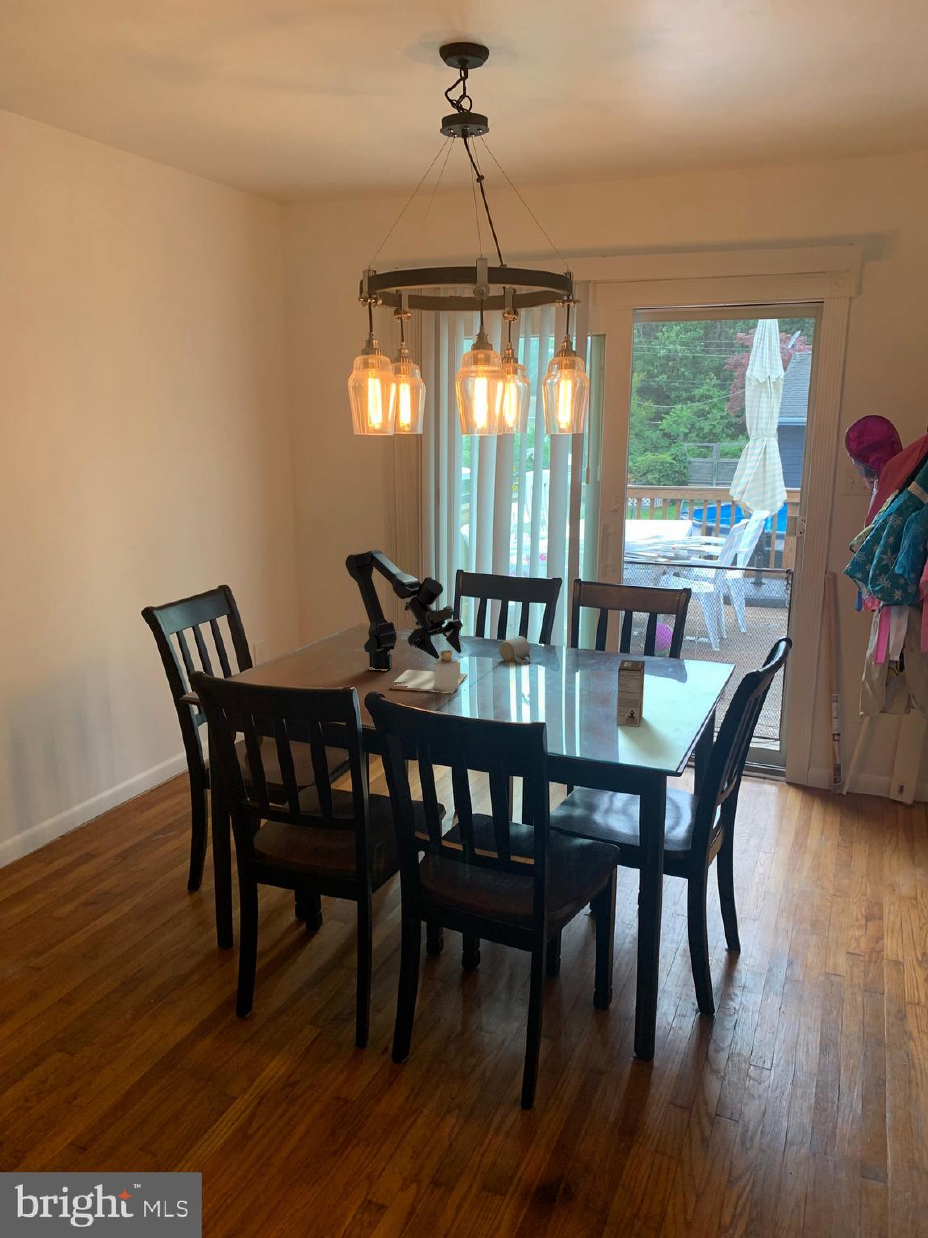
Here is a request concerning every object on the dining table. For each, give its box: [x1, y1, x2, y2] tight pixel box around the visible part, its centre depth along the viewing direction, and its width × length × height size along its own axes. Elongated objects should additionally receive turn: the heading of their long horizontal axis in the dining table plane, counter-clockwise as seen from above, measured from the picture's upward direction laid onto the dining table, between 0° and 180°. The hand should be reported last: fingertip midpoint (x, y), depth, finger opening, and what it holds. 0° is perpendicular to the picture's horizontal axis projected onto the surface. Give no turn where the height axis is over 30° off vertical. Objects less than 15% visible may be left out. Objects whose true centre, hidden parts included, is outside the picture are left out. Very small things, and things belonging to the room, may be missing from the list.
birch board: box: [393, 669, 468, 694], centre depth 277 cm, size 20×18×1 cm
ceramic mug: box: [499, 635, 532, 665], centre depth 301 cm, size 11×8×8 cm
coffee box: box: [616, 659, 646, 728], centre depth 241 cm, size 9×6×16 cm
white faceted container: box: [433, 658, 461, 690], centre depth 270 cm, size 9×8×8 cm
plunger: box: [439, 649, 453, 662], centre depth 269 cm, size 5×5×9 cm
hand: (449, 655), depth 268 cm, fingers open, 9 cm apart
